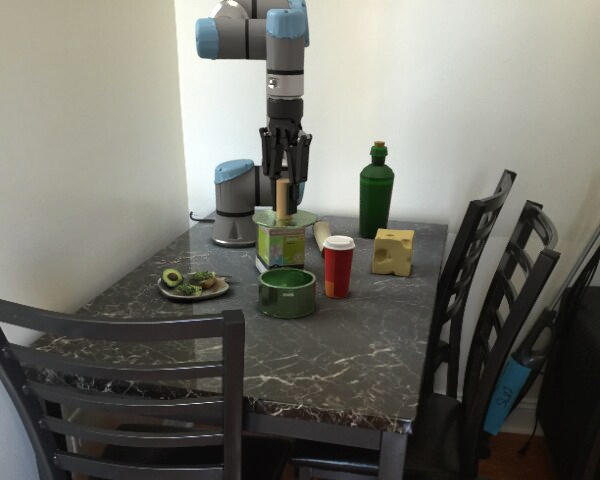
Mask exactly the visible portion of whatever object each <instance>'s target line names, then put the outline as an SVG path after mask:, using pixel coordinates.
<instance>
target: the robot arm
mask: <svg viewBox="0 0 600 480" xmlns="http://www.w3.org/2000/svg"><path fill="white" fill-rule="evenodd" d="M194 27H195V30H194V32H195V36H194V38H195V48H196V54H197V56H198V57H199V58H200V59H205V60H211V61H216V60H246V61H247V60H248V61H265V88H266V90H265V100H266V101H265V105H266V109H265V110H266V113H265V116H266V118H265V119H266V120H265V121H266V125H265V126H263V127H259V128H258V133H259V136H260V141H261V142H260V143H261V164H259V165H258V164H256V163H255V160H254V159H251V158H237V159H231V160H227V161H224V162H221V163H219V164H218V165H216V166H215V168H214V181H213V184H214V191H215V194H214V195H215V219H213V218H194V217H193V215H194V214H193V213H194V212H193V211H190V212H189V219H190V220H191V221H192V222H193V221H194V222H200V223H202V222H206V223H209V222H210V223H214V224H213V229H212V231H211V233H210V234H211V235H210V237H211V238H210V239H211V242H212V244H214V245H215V246H219V247H222V248H233V249H234V248H235V249H237V248H238V249H239V248H241V249H243V248H249V247H253V246H256V223H254V222H253V219H252V217H253V215H254V214H255V213H256V207H257V208H259V207H261V208H263V207H265V208H271V209H272V211H274V212H276V211H277V180H278V179H289V183H287V195H286V215H288V216H289V215H293V214H296V213H297V209H298V206H300V205H301V204H302V202H303V199H304V194H305V188H306V182H308V177H309V165H310V164H309V163H310V162H309V161H310V149H311V147H310V146H311V143H312V141H313V134H312V133H307V132H305V131H304V130H303V125H302V119H303V117H304V109H305V108H304V105H305V103H304V102H305V101H304V99H303V96H304V95H305V51H306V50H305V49H306V48H309V47H310V45H311V44H310V41H311V40H310V25H309V16H308V9H307V2H306V0H222V1H220V2H218V3H217V4H216V5H215V6H214V8H213V10H212V11H211V15H210V17H209V16H208V17H204V18H203V17H200V18H198V19H196V21H195V25H194Z"/></svg>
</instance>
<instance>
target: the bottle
mask: <svg viewBox="0 0 600 480" xmlns="http://www.w3.org/2000/svg"><path fill="white" fill-rule="evenodd" d="M373 144H374V145H371V147H370V152H369V156H371V158H370V159H371V163H369V164H367V165H365V166H364V167H363V169H362V170H361V171H360V172H359V204H358V205H359V206H358V207H359V208H358V212H359V213H358V216H359V217H358V223H359V224H358V234H359V235H360V236H361V237H364V238H367V239H375V238H376V235H377V231H378V229H388V225H389V217H390V211H391V203H392V197H393V191H394V190H393V189H394V183H395V176H396V175H395V172H394V169H392V168H391V167H390V166H389V165H388V164H386V158H387V156H388V155H389V151H388V146H386V141H382V140H376V141H374V142H373Z"/></svg>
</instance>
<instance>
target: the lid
mask: <svg viewBox="0 0 600 480" xmlns="http://www.w3.org/2000/svg"><path fill="white" fill-rule="evenodd" d="M287 183H289V179H278V180H277V211H276V212H274V211H272V208H269V209H264V210H260V211H257V212H255V214H254V215H253V217H252V219H253V222H254V223H256V224H258V225H260V226H263V227H268V228H274V229H298V228H304V227H305V228H308V227H311V226H313V224H315V223H316V221H318V217H317V215H316V214H314V213H312V212H311V211H307V210H303V209H298V208H297V213H296V214H293V215H289V216H288V215H286V195H287Z"/></svg>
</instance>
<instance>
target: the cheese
mask: <svg viewBox="0 0 600 480" xmlns="http://www.w3.org/2000/svg"><path fill="white" fill-rule="evenodd" d="M414 247H415V230H414V229H388V228H387V229H378V231H377V235H376V238H374V243H373V255H372V274H377V275H378V274H380V275H390V274H393V275H395V276H400V277H410V273H411V265H412V259H413V254H414Z"/></svg>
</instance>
